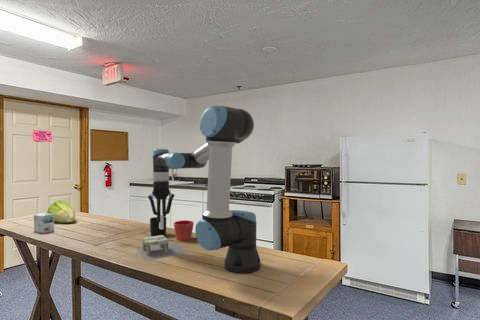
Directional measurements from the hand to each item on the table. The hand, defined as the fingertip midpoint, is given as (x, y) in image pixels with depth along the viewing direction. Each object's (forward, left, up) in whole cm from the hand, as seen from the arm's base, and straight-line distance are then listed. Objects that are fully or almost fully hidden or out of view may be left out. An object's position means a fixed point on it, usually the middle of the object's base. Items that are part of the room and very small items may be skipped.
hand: (161, 228), depth 145 cm
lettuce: (+104, +44, -11) cm, 113 cm away
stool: (0, -2, -8) cm, 8 cm away
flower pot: (+14, -16, -11) cm, 24 cm away
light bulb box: (+77, +54, -11) cm, 95 cm away
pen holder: (+31, -6, -11) cm, 34 cm away
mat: (-1, 0, -11) cm, 11 cm away
